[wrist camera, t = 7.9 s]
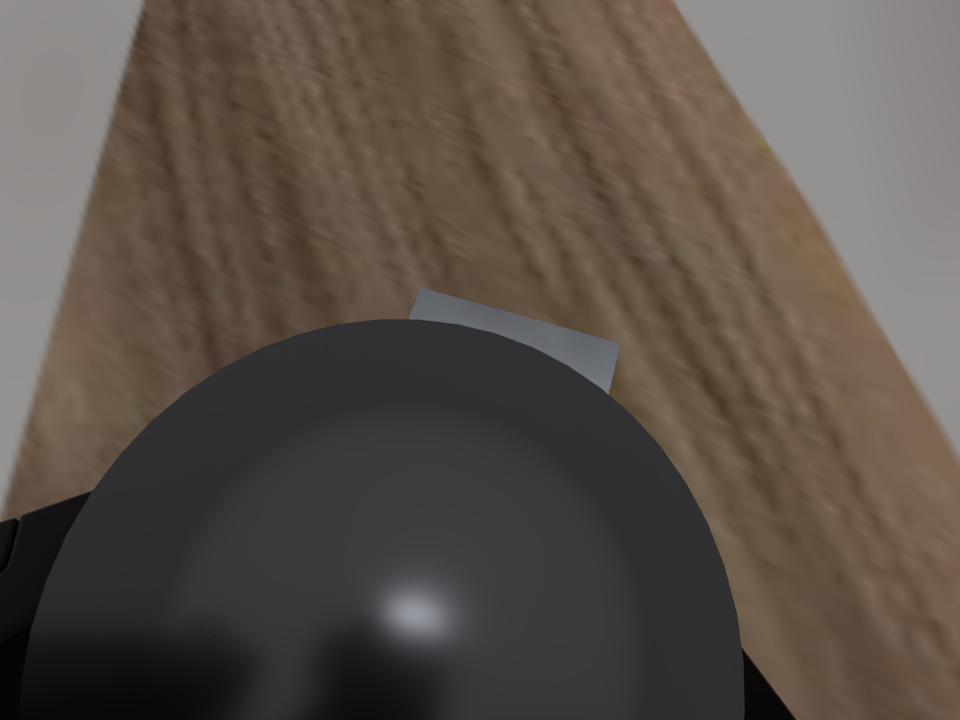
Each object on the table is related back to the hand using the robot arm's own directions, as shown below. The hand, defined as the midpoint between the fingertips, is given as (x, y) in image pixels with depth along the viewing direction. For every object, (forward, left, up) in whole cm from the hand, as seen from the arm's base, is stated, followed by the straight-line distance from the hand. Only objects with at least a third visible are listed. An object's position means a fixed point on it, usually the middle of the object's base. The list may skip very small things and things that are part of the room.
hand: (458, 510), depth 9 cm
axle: (-1, -1, -8) cm, 8 cm away
